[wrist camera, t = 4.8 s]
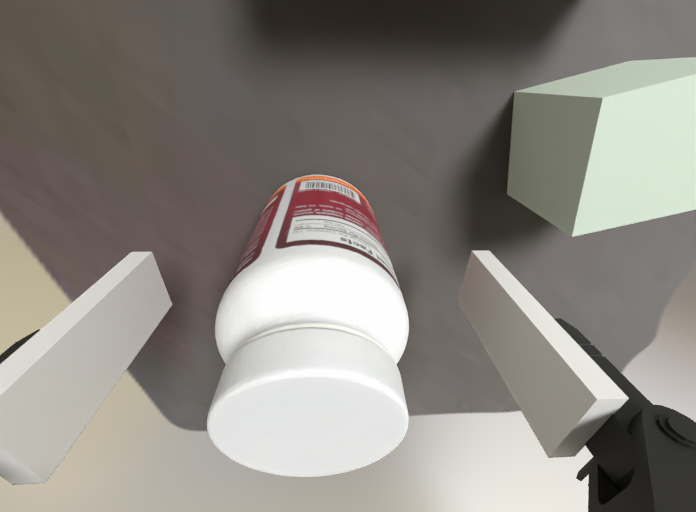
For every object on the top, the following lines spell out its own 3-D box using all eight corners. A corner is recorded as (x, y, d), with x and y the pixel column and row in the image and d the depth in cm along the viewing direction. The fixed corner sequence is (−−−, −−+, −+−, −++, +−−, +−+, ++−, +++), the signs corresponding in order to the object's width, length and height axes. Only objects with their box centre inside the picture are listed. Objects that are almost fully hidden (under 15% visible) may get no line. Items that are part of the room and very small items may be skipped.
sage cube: (505, 193, 16) (571, 236, 11) (513, 91, 13) (602, 98, 9) (600, 171, 15) (705, 207, 11) (628, 61, 12) (781, 52, 8)
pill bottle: (301, 285, 18) (270, 507, 9) (240, 203, 15) (91, 412, 6) (391, 246, 17) (468, 454, 7) (345, 148, 14) (380, 298, 4)
